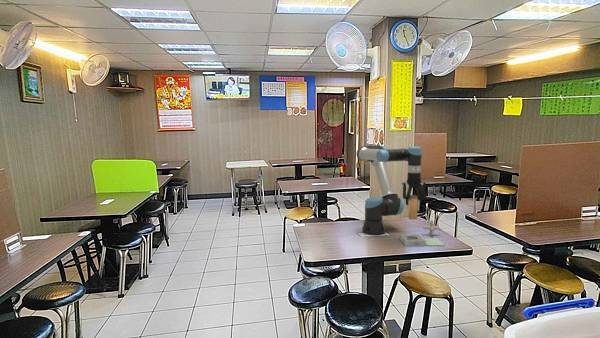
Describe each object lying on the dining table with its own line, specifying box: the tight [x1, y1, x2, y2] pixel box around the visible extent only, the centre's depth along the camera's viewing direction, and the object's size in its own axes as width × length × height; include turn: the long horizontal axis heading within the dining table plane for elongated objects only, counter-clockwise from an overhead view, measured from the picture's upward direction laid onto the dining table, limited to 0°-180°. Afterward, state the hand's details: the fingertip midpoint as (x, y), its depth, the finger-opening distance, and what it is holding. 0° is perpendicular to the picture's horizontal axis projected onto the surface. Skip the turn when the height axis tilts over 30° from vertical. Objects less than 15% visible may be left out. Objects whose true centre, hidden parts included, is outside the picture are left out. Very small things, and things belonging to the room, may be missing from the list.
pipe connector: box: [422, 219, 441, 237], centre depth 205 cm, size 10×10×10 cm
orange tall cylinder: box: [408, 194, 418, 221], centre depth 191 cm, size 5×5×14 cm
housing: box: [399, 233, 427, 247], centre depth 193 cm, size 12×12×3 cm
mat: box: [423, 238, 446, 247], centre depth 192 cm, size 11×10×1 cm
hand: (413, 209), depth 191 cm, fingers closed on orange tall cylinder, 5 cm apart
